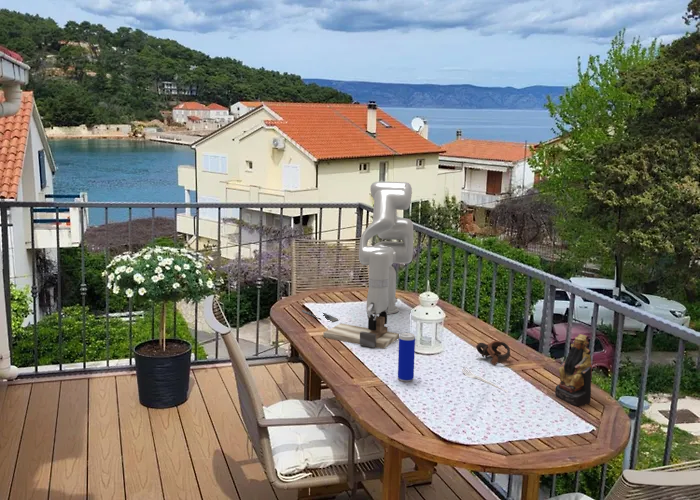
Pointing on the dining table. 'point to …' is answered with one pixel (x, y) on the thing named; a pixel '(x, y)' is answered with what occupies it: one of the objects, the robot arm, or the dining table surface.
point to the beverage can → (406, 357)
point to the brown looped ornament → (493, 351)
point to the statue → (576, 374)
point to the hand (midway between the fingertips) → (377, 326)
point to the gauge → (373, 333)
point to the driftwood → (324, 315)
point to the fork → (480, 378)
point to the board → (358, 335)
